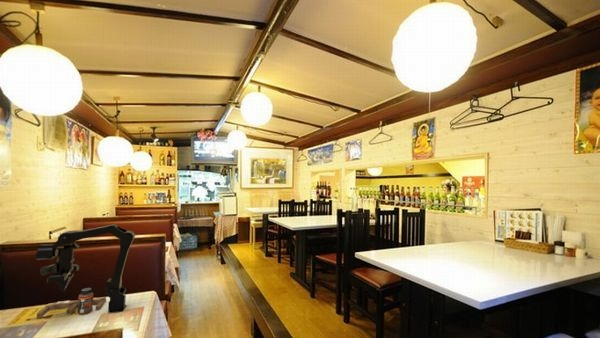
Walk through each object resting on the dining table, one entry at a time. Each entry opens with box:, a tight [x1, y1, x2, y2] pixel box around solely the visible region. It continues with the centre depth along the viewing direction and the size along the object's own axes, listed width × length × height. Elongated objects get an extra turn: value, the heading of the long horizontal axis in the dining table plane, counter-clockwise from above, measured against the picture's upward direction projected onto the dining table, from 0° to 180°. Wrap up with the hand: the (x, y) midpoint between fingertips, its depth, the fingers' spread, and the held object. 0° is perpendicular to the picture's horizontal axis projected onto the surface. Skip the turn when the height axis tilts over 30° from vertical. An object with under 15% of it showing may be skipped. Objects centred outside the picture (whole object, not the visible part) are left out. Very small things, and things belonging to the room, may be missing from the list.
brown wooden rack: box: [36, 296, 107, 319], centre depth 139 cm, size 25×10×3 cm, turn 110°
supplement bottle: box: [77, 287, 94, 316], centre depth 136 cm, size 6×6×11 cm
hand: (62, 291), depth 130 cm, fingers closed
